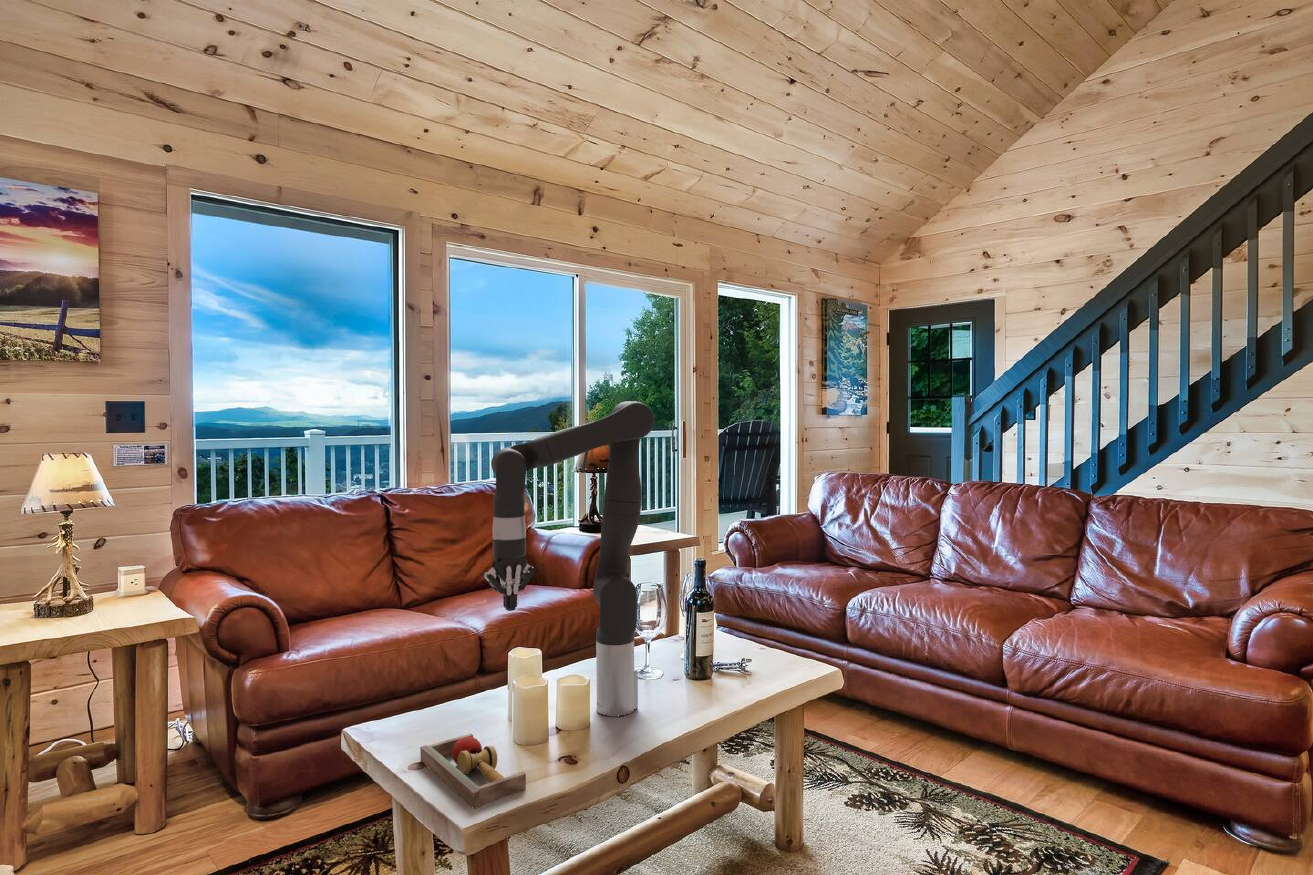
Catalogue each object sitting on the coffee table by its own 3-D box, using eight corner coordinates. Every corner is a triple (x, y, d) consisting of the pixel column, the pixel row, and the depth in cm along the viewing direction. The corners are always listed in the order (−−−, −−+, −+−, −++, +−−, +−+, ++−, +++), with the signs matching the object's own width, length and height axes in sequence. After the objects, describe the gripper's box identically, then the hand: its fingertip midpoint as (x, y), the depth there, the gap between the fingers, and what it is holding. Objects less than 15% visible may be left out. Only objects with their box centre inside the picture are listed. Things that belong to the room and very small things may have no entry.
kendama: (522, 792, 154) (479, 748, 168) (519, 764, 152) (476, 723, 166) (487, 811, 149) (446, 765, 163) (483, 783, 148) (442, 739, 161)
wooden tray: (470, 746, 172) (470, 732, 171) (527, 789, 152) (526, 774, 152) (420, 760, 165) (420, 746, 164) (473, 808, 145) (473, 792, 145)
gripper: (526, 530, 188) (527, 602, 189) (475, 536, 180) (476, 611, 180) (542, 534, 182) (543, 608, 183) (490, 540, 174) (491, 618, 175)
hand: (510, 609), depth 182 cm, fingers closed
